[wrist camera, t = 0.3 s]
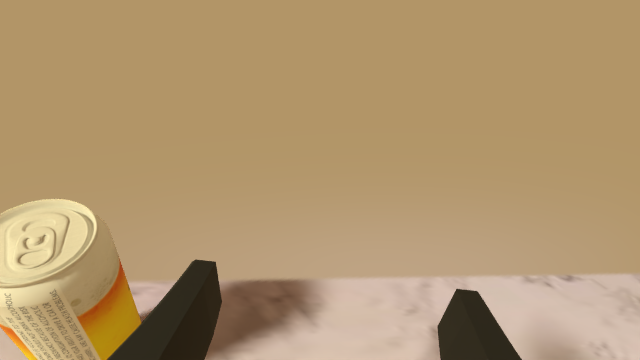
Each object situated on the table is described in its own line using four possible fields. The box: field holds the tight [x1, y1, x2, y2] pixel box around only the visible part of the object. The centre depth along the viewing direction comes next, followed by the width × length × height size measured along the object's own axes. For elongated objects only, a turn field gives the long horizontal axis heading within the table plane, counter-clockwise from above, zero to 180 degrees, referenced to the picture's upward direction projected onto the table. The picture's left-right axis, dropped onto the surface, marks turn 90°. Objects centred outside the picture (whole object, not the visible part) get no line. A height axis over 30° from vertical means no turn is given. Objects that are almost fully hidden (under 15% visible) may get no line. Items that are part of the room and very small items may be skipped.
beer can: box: [0, 199, 141, 360], centre depth 23 cm, size 6×6×15 cm
